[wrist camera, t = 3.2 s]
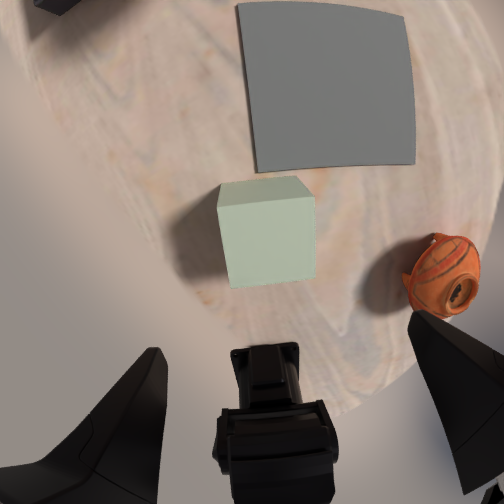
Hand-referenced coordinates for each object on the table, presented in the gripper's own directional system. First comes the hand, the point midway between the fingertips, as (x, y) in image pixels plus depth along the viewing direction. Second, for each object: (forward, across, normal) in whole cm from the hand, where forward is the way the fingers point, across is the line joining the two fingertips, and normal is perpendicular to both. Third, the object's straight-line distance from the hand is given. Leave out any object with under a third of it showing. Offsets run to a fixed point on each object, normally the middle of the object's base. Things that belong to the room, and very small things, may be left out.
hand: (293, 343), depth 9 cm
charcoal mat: (+12, -6, -9) cm, 16 cm away
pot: (+12, -15, +6) cm, 20 cm away
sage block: (+12, 0, 0) cm, 12 cm away
